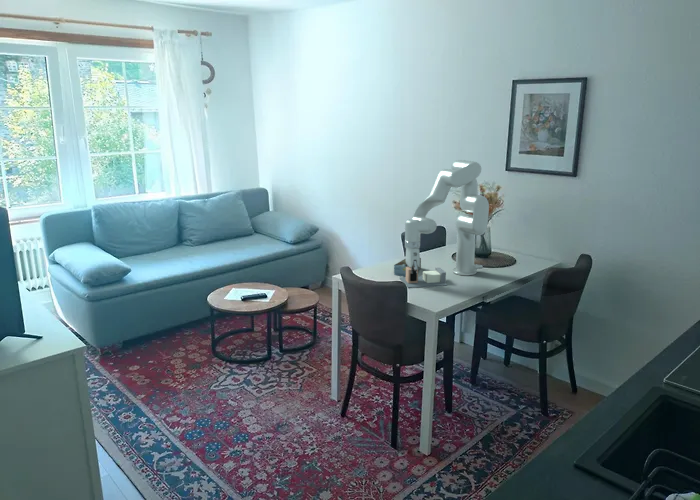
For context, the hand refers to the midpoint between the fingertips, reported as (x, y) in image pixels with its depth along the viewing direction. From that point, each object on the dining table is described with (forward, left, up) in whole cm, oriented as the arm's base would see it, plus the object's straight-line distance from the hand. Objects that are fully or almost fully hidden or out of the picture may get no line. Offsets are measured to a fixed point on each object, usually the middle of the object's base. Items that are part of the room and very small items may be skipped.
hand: (411, 278), depth 268 cm
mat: (-6, 0, -2) cm, 6 cm away
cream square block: (-11, 0, -2) cm, 12 cm away
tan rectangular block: (0, 0, -2) cm, 2 cm away
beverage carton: (-4, -20, -3) cm, 20 cm away
